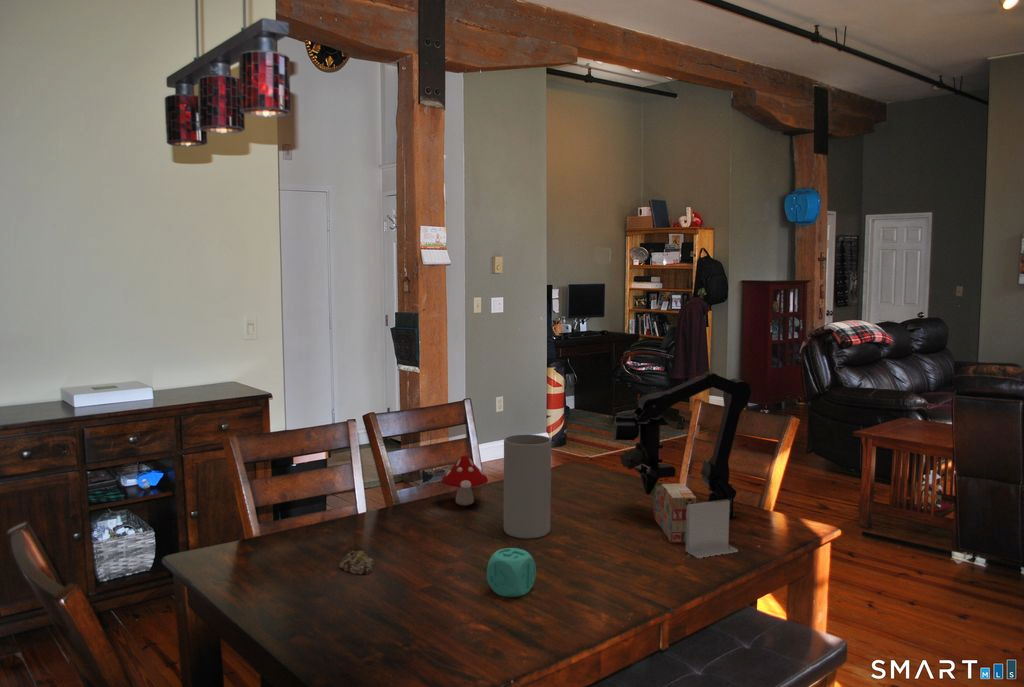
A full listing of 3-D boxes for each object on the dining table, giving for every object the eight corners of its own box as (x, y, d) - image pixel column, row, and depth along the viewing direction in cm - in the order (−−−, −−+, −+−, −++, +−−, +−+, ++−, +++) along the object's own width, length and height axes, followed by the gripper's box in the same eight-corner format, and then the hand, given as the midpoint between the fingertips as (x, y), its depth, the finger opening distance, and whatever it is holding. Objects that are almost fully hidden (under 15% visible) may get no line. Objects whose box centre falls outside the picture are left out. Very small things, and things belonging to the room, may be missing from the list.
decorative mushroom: (486, 512, 220) (486, 461, 218) (438, 512, 220) (438, 461, 219) (488, 498, 234) (489, 450, 232) (443, 497, 234) (443, 449, 233)
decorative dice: (517, 600, 162) (517, 564, 161) (485, 592, 166) (486, 556, 165) (536, 587, 168) (536, 552, 168) (505, 579, 173) (505, 545, 172)
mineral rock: (332, 554, 181) (363, 540, 185) (337, 570, 182) (368, 556, 186) (346, 571, 172) (379, 556, 176) (351, 588, 173) (384, 572, 177)
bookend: (725, 545, 195) (726, 499, 194) (737, 551, 190) (739, 505, 189) (685, 551, 190) (687, 504, 189) (697, 558, 186) (699, 510, 184)
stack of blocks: (652, 516, 217) (653, 474, 216) (674, 516, 217) (675, 474, 216) (671, 543, 196) (672, 496, 195) (695, 543, 196) (696, 496, 195)
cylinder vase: (496, 535, 201) (496, 442, 198) (513, 521, 212) (514, 433, 210) (540, 542, 196) (541, 446, 194) (556, 527, 208) (557, 436, 205)
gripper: (608, 435, 221) (606, 488, 222) (642, 449, 203) (640, 506, 205) (641, 432, 225) (640, 484, 226) (677, 446, 207) (675, 502, 209)
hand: (648, 494), depth 217 cm, fingers closed
